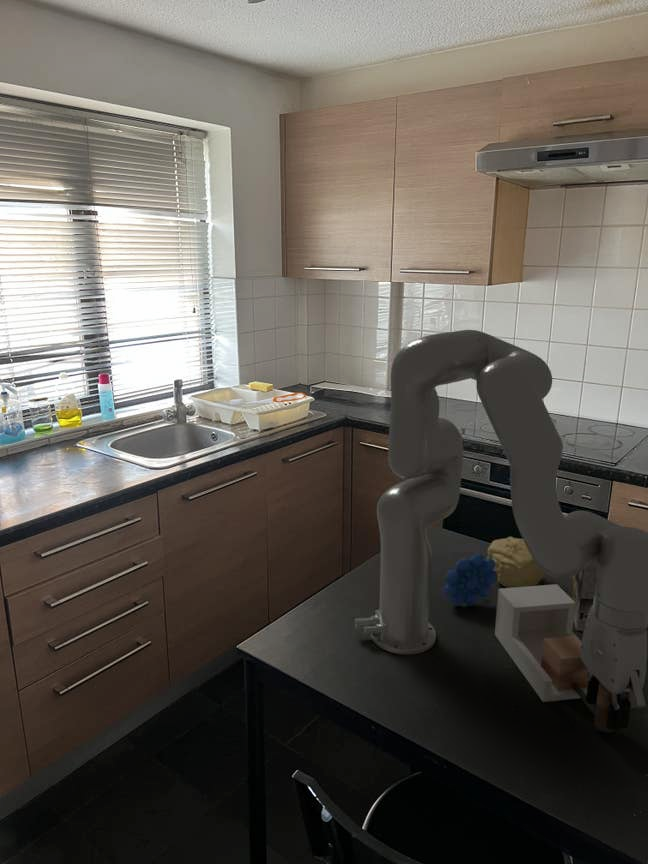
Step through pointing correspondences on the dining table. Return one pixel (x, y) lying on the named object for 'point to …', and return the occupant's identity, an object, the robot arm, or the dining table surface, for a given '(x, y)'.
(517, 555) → the sculpture
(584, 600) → the coffee box
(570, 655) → the wooden mallet
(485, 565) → the grapes
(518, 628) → the shelf lane
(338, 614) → the dining table surface
